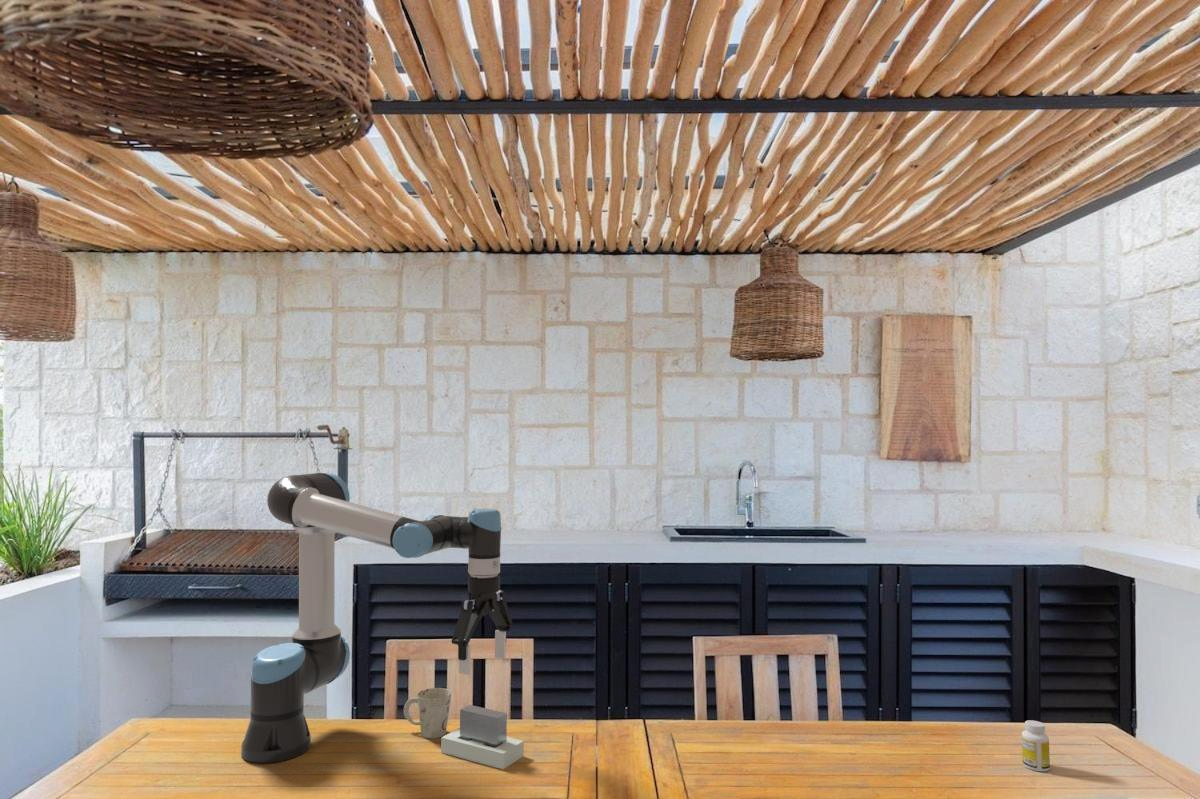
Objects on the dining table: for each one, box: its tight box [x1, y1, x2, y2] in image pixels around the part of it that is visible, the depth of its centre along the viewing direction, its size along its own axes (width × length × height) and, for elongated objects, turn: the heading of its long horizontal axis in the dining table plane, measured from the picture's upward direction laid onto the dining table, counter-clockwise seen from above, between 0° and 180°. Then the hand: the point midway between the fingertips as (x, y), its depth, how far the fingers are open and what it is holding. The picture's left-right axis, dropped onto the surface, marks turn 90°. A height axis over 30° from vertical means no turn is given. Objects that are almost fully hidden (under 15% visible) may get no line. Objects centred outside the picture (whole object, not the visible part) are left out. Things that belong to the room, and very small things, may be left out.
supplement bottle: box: [1021, 719, 1051, 772], centre depth 171 cm, size 5×5×10 cm
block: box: [440, 727, 525, 770], centre depth 176 cm, size 18×8×4 cm, turn 61°
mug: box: [403, 687, 452, 739], centre depth 188 cm, size 8×13×10 cm, turn 78°
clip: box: [459, 704, 508, 748], centre depth 176 cm, size 11×4×10 cm, turn 61°
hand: (482, 665), depth 177 cm, fingers open, 13 cm apart
